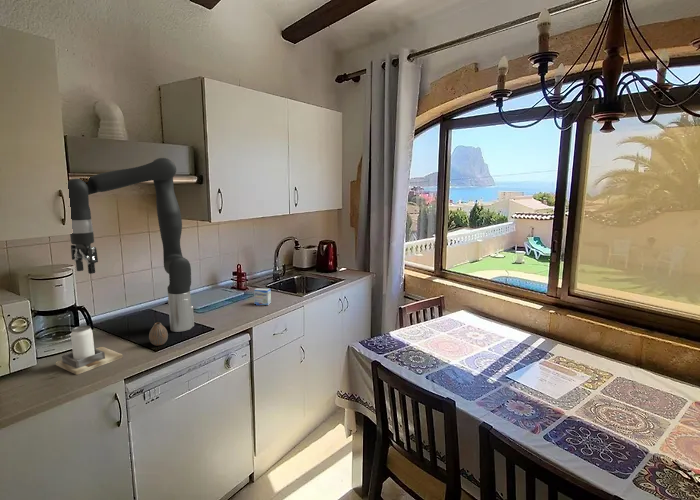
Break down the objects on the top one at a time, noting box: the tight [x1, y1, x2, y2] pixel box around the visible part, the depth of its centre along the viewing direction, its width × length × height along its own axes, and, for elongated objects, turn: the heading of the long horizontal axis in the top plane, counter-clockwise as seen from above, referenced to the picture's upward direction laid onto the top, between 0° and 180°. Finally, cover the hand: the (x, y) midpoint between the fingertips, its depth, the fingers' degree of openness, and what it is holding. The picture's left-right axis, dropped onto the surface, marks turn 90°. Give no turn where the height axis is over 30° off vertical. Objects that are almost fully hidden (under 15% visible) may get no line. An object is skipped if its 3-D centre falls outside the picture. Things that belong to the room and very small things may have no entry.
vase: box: [148, 322, 169, 347], centre depth 161 cm, size 7×7×9 cm
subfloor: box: [55, 346, 124, 376], centre depth 145 cm, size 16×14×4 cm
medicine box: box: [253, 287, 272, 306], centre depth 214 cm, size 8×4×9 cm, turn 80°
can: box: [70, 325, 95, 360], centre depth 142 cm, size 6×6×12 cm
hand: (85, 272), depth 155 cm, fingers open, 8 cm apart
